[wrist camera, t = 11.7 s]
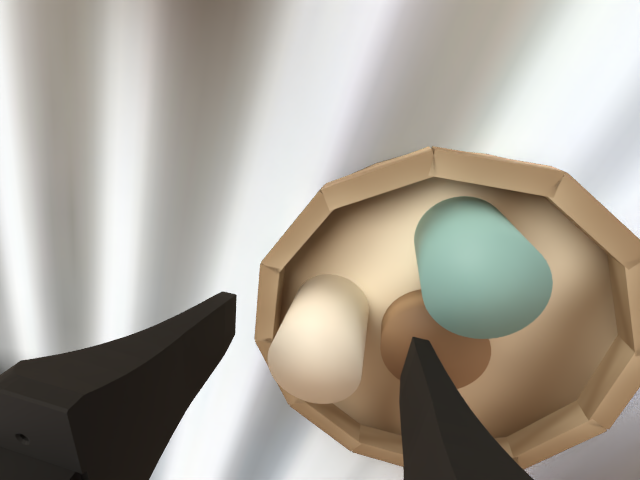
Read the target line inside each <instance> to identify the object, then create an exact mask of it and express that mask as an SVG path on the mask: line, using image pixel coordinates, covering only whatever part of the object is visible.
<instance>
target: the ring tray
mask: <svg viewBox="0 0 640 480" xmlns="http://www.w3.org/2000/svg"><path fill="white" fill-rule="evenodd" d="M459 196H469V197H476V198H480V199H482V200H485V201H487V202H489V203H491V204H492V205H493V206H495V207H496V208H497V209H498V210H499V211H500V212H501V213H502V214H503V215H504V216H505V217H506V218H507V219H508V220H509V221H510V222H511V223H512V225H513V226H514V227H515V228H516V229H517V230H518V231H519V232H520V233H521V234H522V235H523V236H524V237H525V238H526V239H527V240H528V241H529V242H530V243H531V244H532V245H533V246H534V247H535V248H536V249H537V250H538V251H539V252H540V253H541V254H542V256H543V257H544V258H545V260H546V261H547V263H548V265H549V267H550V270H551V274H552V280H553V286H552V293H551V297H550V299H549V302H548V304H547V306H546V307H545V309H544V310H543V312H542V313H541V314H540V316H538V317H537V318H536V319H535V320H534V321H533V322H532V323H531V324H529V325H528V326H526V327H525V328H523V329H521V330H519V331H517V332H515V333H513V334H510V335H507V336H503V337H499V338H492V339H474V338H468V337H464V336H460V335H457V334H455V333H452V332H450V331H448V330H447V329H445V328H443V327H442V326H441V325H439V324H438V323H437V322H436V321H435V320H434V319H433V318H432V317H431V315H430V314H429V312H428V311H427V309H426V307H425V305H424V301H423V298H422V291H421V285H420V278H419V272H418V265H417V259H416V252H415V246H414V234H415V230H416V227H417V224H418V222H419V221H420V219H421V218H422V216H423V215H424V214H425V213H426V212H427V211H428V210H429V209H430V208H431V207H433V206H434V205H435V204H437V203H439V202H441V201H443V200H446V199H449V198H453V197H459ZM322 274H334V275H339V276H342V277H345V278H347V279H349V280H351V281H352V282H354V283H355V284H356V285H357V286H358V287H360V289H361V290H362V291H363V293H364V294H365V296H366V298H367V301H368V305H369V316H368V324H367V333H366V342H365V350H364V359H363V368H362V376H361V381H360V384H359V386H358V388H357V389H356V391H355V392H354V393H353V394H352V395H351V396H349V397H348V398H346V399H344V400H342V401H339V402H336V403H330V404H317V403H311V402H307V401H304V400H301V399H299V398H296V397H295V396H293V395H291V394H289V393H288V392H287V391H285V390H284V389H283V388H282V387H281V386H280V385H279V384H278V383H277V384H278V386H279V387H280V389H281V391H282V393H283V395H284V397H285V399H286V401H287V403H288V404H290V406H291V407H292V408H293V409H295V410H296V411H297V412H299V413H300V414H301V415H303V416H304V417H305V418H307V419H308V420H309V421H311V422H312V423H313V424H315V425H316V426H317V427H319V428H320V429H321V430H323V431H324V432H325V433H327V434H328V435H329V436H331V437H332V438H334V439H335V440H336V441H338V442H339V443H340V444H342V445H343V446H344V447H346V448H347V449H348V450H350V451H352V450H353V451H352V452H354V453H357V454H361V455H364V456H368V457H371V458H375V459H378V460H382V461H385V462H389V463H392V464H396V465H399V466H403V467H404V465H403V449H402V436H401V422H400V407H399V393H400V376H401V372H402V369H403V366H404V363H405V360H406V356H407V353H408V350H409V347H410V343H411V340H412V337H417V338H421V339H426V340H429V341H430V343H431V345H432V346H433V348H434V350H435V352H436V354H437V356H438V358H439V359H440V361H441V363H442V365H443V366H444V368H445V370H446V372H447V373H448V375H449V377H450V378H451V380H452V382H453V383H454V385H455V386H456V388H457V390H458V391H459V393H460V394H461V396H462V397H463V399H464V400H465V402H466V403H467V405H468V406H469V407H470V409H471V410H472V411H473V413H474V414H475V415H476V417H477V418H478V419H479V421H480V422H481V423H482V424H483V426H484V427H485V428H486V429H487V430H488V432H489V433H490V434H491V435H492V436H493V438H494V439H495V440H496V441H497V442H498V443H499V444H500V446H501V447H502V448H503V449H504V450H505V451H506V452H507V453H508V454H509V455H510V456H511V457H512V459H513V460H514V461H515V462H516V463H517V464H518V465H519V466H520V467H521V468H522V469H526V468H528V467H530V466H532V465H534V464H536V463H539V462H541V461H543V460H545V459H547V458H549V457H552V456H554V455H556V454H558V453H560V452H562V451H565V450H567V449H569V448H571V447H573V446H575V445H578V444H580V443H582V442H584V441H586V440H588V439H590V438H593V437H595V436H597V435H599V434H601V433H603V432H606V431H607V430H606V429H610V427H611V426H612V424H613V423H614V422H615V420H616V419H617V418H618V416H619V415H620V413H621V412H622V411H623V409H624V408H625V407H626V405H627V404H628V402H629V401H630V400H631V398H632V397H633V396H634V394H635V393H636V391H637V390H638V389H639V387H640V239H639V238H638V237H636V236H635V235H634V234H633V233H632V232H631V231H630V230H629V229H628V228H627V227H626V226H625V225H623V224H622V223H621V222H620V221H619V220H618V219H617V218H616V217H615V216H614V215H613V214H612V213H610V212H609V211H608V210H607V209H606V208H605V207H604V206H603V205H602V204H601V203H600V202H599V201H597V200H596V199H595V198H594V197H593V196H592V195H591V194H590V193H589V192H588V191H587V190H586V189H585V188H583V187H582V186H581V185H580V184H579V183H578V182H577V181H576V180H575V179H574V178H573V177H572V176H570V175H569V174H568V173H566V172H564V171H562V170H559V169H557V168H554V167H552V166H547V165H541V164H535V163H529V162H523V161H517V160H511V159H506V158H502V157H498V156H493V155H489V154H483V153H473V152H464V151H458V150H452V149H446V148H440V147H434V146H432V148H430V147H426V148H423V149H421V150H418V151H415V152H412V153H410V154H407V155H404V156H400V157H397V158H393V159H390V160H386V161H383V162H379V163H376V164H373V165H371V166H369V167H366V168H364V169H362V170H360V171H357V172H355V173H353V174H351V175H348V176H345V177H342V178H340V179H337V180H334V181H331V182H328V183H326V184H325V185H324V186H323V187H322V188H321V189H320V190H319V192H318V193H317V194H316V195H315V197H314V198H313V199H312V200H311V201H310V203H309V204H308V205H307V206H306V208H305V209H304V210H303V211H302V212H301V214H300V215H299V216H298V217H297V219H296V220H295V221H294V222H293V224H292V225H291V226H290V227H289V228H288V230H287V231H286V232H285V233H284V235H283V236H282V237H281V238H280V239H279V241H278V242H277V243H276V244H275V246H274V247H273V248H272V249H271V251H270V252H269V253H268V254H267V255H266V257H265V258H264V259H263V260H262V262H261V264H260V273H259V286H258V300H257V313H256V326H255V342H256V344H257V346H258V348H259V350H260V352H261V353H262V355H263V357H264V359H265V361H266V363H267V365H268V351H269V348H270V346H271V344H272V342H273V340H274V338H275V336H276V334H277V332H278V330H279V328H280V326H281V324H282V322H283V320H284V318H285V316H286V314H287V312H288V310H289V308H290V306H291V304H292V302H293V300H294V298H295V296H296V294H297V292H298V290H299V288H300V287H301V286H302V284H303V283H304V282H306V281H307V280H308V279H310V278H312V277H315V276H317V275H322ZM268 367H269V366H268Z"/></svg>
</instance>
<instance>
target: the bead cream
mask: <svg viewBox="0 0 640 480" xmlns="http://www.w3.org/2000/svg"><path fill="white" fill-rule="evenodd" d="M368 316H369V305H368V301H367V298H366V296H365V294H364V293H363V291H362V290H361V289H360V287H358V286H357V285H356V284H355V283H354V282H352V281H351V280H349V279H347V278H345V277H342V276H339V275H334V274H322V275H317V276H315V277H312V278H310V279H308V280H307V281H306V282H304V283H303V284H302V286H301V287H300V288H299V290H298V292H297V294H296V296H295V298H294V300H293V302H292V304H291V306H290V308H289V310H288V312H287V314H286V316H285V318H284V320H283V322H282V324H281V326H280V328H279V330H278V332H277V334H276V336H275V338H274V340H273V342H272V344H271V346H270V348H269V351H268V366H269V370H270V372H271V374H272V376H273V378H274V379H275V381H276V382H277V383H278V384H279V385H280V386H281V387H282V388H283V389H284V390H285V391H287V392H288V393H289V394H291V395H293V396H295V397H296V398H299V399H301V400H304V401H307V402H311V403H317V404H330V403H336V402H339V401H342V400H344V399H346V398H348V397H349V396H351V395H352V394H353V393H354V392H355V391H356V389H357V388H358V386H359V384H360V381H361V376H362V368H363V359H364V350H365V342H366V333H367V324H368Z"/></svg>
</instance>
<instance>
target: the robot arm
mask: <svg viewBox="0 0 640 480" xmlns="http://www.w3.org/2000/svg"><path fill="white" fill-rule="evenodd" d="M235 323H236V295H235V294H231V293H227V292H221V293H219V294H217V295H215V296H213V297H211V298H209V299H207V300H205V301H204V302H202V303H200V304H198V305H196V306H194V307H192V308H190V309H188V310H186V311H185V312H183V313H181V314H179V315H176V316H174V317H172V318H170V319H168V320H166V321H164V322H161V323H159V324H157V325H155V326H152V327H150V328H148V329H145V330H142V331H140V332H137V333H134V334H132V335H129V336H126V337H123V338H120V339H116V340H113V341H110V342H107V343H103V344H100V345H97V346H93V347H89V348H85V349H81V350H76V351H72V352H68V353H63V354H58V355H52V356H46V357H41V358H35V359H29V360H22V361H20V362H18V363H17V364H15V365H14V366H12V367H11V368H10V369H8V370H7V371H5V372H4V373H2V374H1V375H0V480H149V478H150V477H151V475H152V473H153V471H154V469H155V467H156V465H157V463H158V461H159V459H160V457H161V455H162V453H163V451H164V450H165V448H166V446H167V444H168V442H169V440H170V438H171V437H172V435H173V433H174V431H175V429H176V428H177V426H178V424H179V422H180V421H181V419H182V417H183V415H184V413H185V412H186V410H187V409H188V407H189V405H190V404H191V402H192V401H193V399H194V398H195V397H196V395H197V394H198V392H199V391H200V389H201V388H202V387H203V385H204V384H205V382H206V381H207V379H208V378H209V377H210V375H211V374H212V372H213V371H214V369H215V368H216V367H217V365H218V364H219V362H220V361H221V359H222V358H223V356H224V355H225V353H226V351H227V349H228V347H229V345H230V343H231V341H232V339H233V337H234V335H235ZM399 407H400V422H401V436H402V449H403V465H404V480H534V479H532V478H531V477H530V476H529V475H528V474H527V473H526V472H525V471H524V470H523V469H522V468H521V467H520V466H519V465H518V464H517V463H516V462H515V461H514V460H513V459H512V457H511V456H510V455H509V454H508V453H507V452H506V451H505V450H504V449H503V448H502V447H501V446H500V444H499V443H498V442H497V441H496V440H495V439H494V438H493V436H492V435H491V434H490V433H489V432H488V430H487V429H486V428H485V427H484V426H483V424H482V423H481V422H480V421H479V419H478V418H477V417H476V415H475V414H474V413H473V411H472V410H471V409H470V407H469V406H468V405H467V403H466V402H465V400H464V399H463V397H462V396H461V394H460V393H459V391H458V390H457V388H456V386H455V385H454V383H453V382H452V380H451V378H450V377H449V375H448V373H447V372H446V370H445V368H444V366H443V365H442V363H441V361H440V359H439V358H438V356H437V354H436V352H435V350H434V348H433V346H432V345H431V343H430V341H429V340H426V339H421V338H417V337H412V340H411V343H410V347H409V350H408V353H407V356H406V360H405V363H404V366H403V369H402V372H401V376H400V393H399Z"/></svg>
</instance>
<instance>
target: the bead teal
mask: <svg viewBox="0 0 640 480" xmlns="http://www.w3.org/2000/svg"><path fill="white" fill-rule="evenodd" d="M414 246H415V252H416V259H417V265H418V272H419V278H420V285H421V291H422V298H423V301H424V305H425V307H426V309H427V311H428V312H429V314H430V315H431V317H432V318H433V319H434V320H435V321H436V322H437V323H438V324H439V325H441V326H442V327H443V328H445V329H447V330H448V331H450V332H452V333H455V334H457V335H460V336H464V337H468V338H474V339H492V338H499V337H503V336H507V335H510V334H513V333H515V332H517V331H519V330H521V329H523V328H525V327H526V326H528V325H529V324H531V323H532V322H533V321H534V320H535V319H536V318H537V317H538V316H540V314H541V313H542V312H543V310H544V309H545V307H546V306H547V304H548V302H549V299H550V297H551V293H552V286H553V280H552V274H551V270H550V267H549V265H548V263H547V261H546V260H545V258H544V257H543V256H542V254H541V253H540V252H539V251H538V250H537V249H536V248H535V247H534V246H533V245H532V244H531V243H530V242H529V241H528V240H527V239H526V238H525V237H524V236H523V235H522V234H521V233H520V232H519V231H518V230H517V229H516V228H515V227H514V226H513V225H512V223H511V222H510V221H509V220H508V219H507V218H506V217H505V216H504V215H503V214H502V213H501V212H500V211H499V210H498V209H497V208H496V207H495V206H493V205H492V204H491V203H489V202H487V201H485V200H482V199H480V198H476V197H469V196H459V197H453V198H449V199H446V200H443V201H441V202H439V203H437V204H435V205H434V206H433V207H431V208H430V209H429V210H428V211H427V212H426V213H425V214H424V215H423V216H422V218H421V219H420V221H419V222H418V224H417V227H416V230H415V234H414Z"/></svg>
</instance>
